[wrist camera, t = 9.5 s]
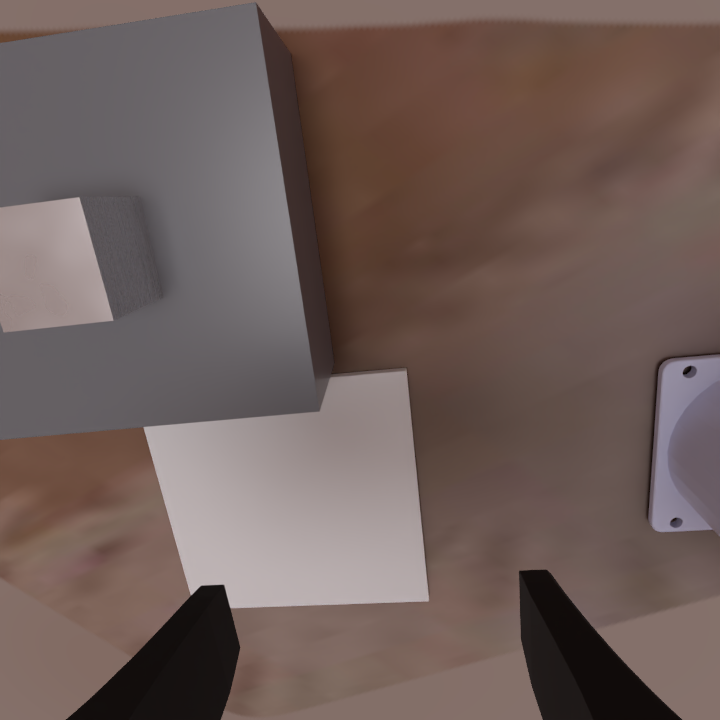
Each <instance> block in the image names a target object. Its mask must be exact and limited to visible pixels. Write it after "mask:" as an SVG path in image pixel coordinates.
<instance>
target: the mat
mask: <svg viewBox="0 0 720 720" xmlns="http://www.w3.org/2000/svg"><path fill="white" fill-rule="evenodd" d="M144 431H145V434H146V438H147V441H148V445H149V448H150V452H151V455H152V459H153V463H154V466H155V470H156V473H157V477H158V480H159V484H160V487H161V491H162V495H163V498H164V502H165V505H166V509H167V512H168V516H169V519H170V523H171V526H172V530H173V534H174V537H175V541H176V544H177V548H178V551H179V555H180V558H181V562H182V566H183V569H184V573H185V576H186V580H187V583H188V587H189V590H190V594H191V595H192V594H193V593H194V592H195V591H196V590H197V589H198V588H199V587H200V586H202V585H224V586H225V590H226V594H227V598H228V602H229V605H230V608H249V607H278V606H306V605H335V604H363V603H391V602H420V601H429V594H428V584H427V574H426V564H425V553H424V543H423V533H422V522H421V512H420V502H419V492H418V481H417V471H416V461H415V451H414V440H413V430H412V420H411V410H410V399H409V389H408V379H407V369H406V368H396V369H385V370H374V371H362V372H351V373H339V374H331V376H330V379H329V382H328V386H327V389H326V392H325V396H324V399H323V402H322V405H321V409H320V412H308V413H297V414H286V415H275V416H263V417H252V418H241V419H229V420H218V421H207V422H195V423H184V424H173V425H161V426H150V427H144Z"/></svg>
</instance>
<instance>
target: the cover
mask: <svg viewBox="0 0 720 720" xmlns="http://www.w3.org/2000/svg"><path fill="white" fill-rule="evenodd" d="M333 366H334V356H333V349H332V342H331V335H330V328H329V321H328V313H327V306H326V299H325V292H324V285H323V278H322V271H321V264H320V257H319V250H318V243H317V235H316V228H315V221H314V214H313V207H312V200H311V193H310V186H309V179H308V172H307V165H306V157H305V150H304V143H303V136H302V129H301V122H300V115H299V108H298V101H297V94H296V87H295V80H294V72H293V65H292V58H291V53H290V52H289V50H288V49H287V48H286V46H285V45H284V43H283V42H282V40H281V39H280V37H279V36H278V34H277V33H276V31H275V30H274V28H273V27H272V25H271V24H270V22H269V21H268V20H267V18H266V17H265V15H264V14H263V12H262V11H261V9H260V8H259V6H258V5H257V3H249V4H243V5H236V6H230V7H224V8H218V9H211V10H205V11H199V12H192V13H186V14H180V15H174V16H168V17H161V18H155V19H149V20H143V21H136V22H130V23H124V24H117V25H111V26H105V27H99V28H92V29H86V30H80V31H74V32H67V33H61V34H55V35H49V36H42V37H36V38H30V39H24V40H18V41H11V42H5V43H0V440H3V439H14V438H26V437H37V436H48V435H59V434H71V433H82V432H93V431H105V430H116V429H127V428H139V427H150V426H161V425H173V424H184V423H195V422H207V421H218V420H229V419H241V418H252V417H263V416H275V415H286V414H297V413H308V412H320V409H321V405H322V402H323V399H324V396H325V392H326V389H327V386H328V382H329V379H330V376H331V373H332V369H333Z"/></svg>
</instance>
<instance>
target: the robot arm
mask: <svg viewBox="0 0 720 720" xmlns="http://www.w3.org/2000/svg"><path fill="white" fill-rule="evenodd" d="M687 366H691V371H690V372H689V373H688V374H685V375H683V370H684V369H685V368H686V367H687ZM673 518H677V520H676V521H674V522H670V521H671V520H672V519H673ZM648 520H649V523H650V525H651V526H652V527H653V528H654V530H656V531H658V532H677V531H698V530H714V531H715V532H716V533H717V534H718V535H719V537H720V354H717V355H705V356H694V357H682V358H672V359H668V360H666V361H665V362H663V363H662V364H661V366H660V368H659V371H658V385H657V400H656V414H655V429H654V443H653V458H652V473H651V487H650V502H649V516H648ZM519 581H520V619H521V641H522V645H523V650H524V654H525V658H526V663H527V667H528V672H529V676H530V680H531V684H532V688H533V691H534V694H535V697H536V700H537V703H538V706H539V709H540V712H541V715H542V718H543V720H682V719H681V718H680V717H679V716H678V715H676V714H675V713H674V712H673V711H672V710H671V709H670V708H669V707H668V706H667V705H666V704H665V703H664V702H663V701H662V700H661V699H660V698H659V697H657V695H655V694H654V692H652V691H651V690H650V689H649V688H648V687H647V686H646V685H645V684H644V683H643V682H642V681H641V679H640V678H639V677H638V676H637V675H636V674H635V673H634V672H633V671H632V670H631V669H630V668H629V667H628V666H627V665H626V664H625V663H624V662H623V661H622V660H621V658H620V657H619V656H618V655H617V654H616V653H615V652H614V651H613V650H612V649H611V647H610V646H609V645H608V644H607V643H606V642H605V641H604V639H603V638H602V637H601V636H600V635H599V634H598V633H597V631H596V630H595V629H594V628H593V627H592V626H591V625H590V623H589V622H588V621H587V620H586V619H585V617H584V616H583V615H582V614H581V612H580V611H579V610H578V609H577V607H576V606H575V605H574V604H573V603H572V601H571V600H570V599H569V597H568V596H567V595H566V594H565V592H564V591H563V590H562V588H561V587H560V586H559V584H558V583H557V582H556V580H555V579H554V577H553V576H552V575H551V573H549V572H548V571H547V570H527V571H519ZM239 651H240V645H239V641H238V637H237V633H236V629H235V625H234V621H233V617H232V613H231V609H230V605H229V602H228V598H227V594H226V590H225V586H224V585H202V586H200V587H199V588H198V589H197V590H196V591H195V592H194V593H193V594H192V595H191V596H190V597H189V599H188V600H187V601H186V602H185V603H184V604H183V605H182V606H181V607H180V608H179V609H178V610H177V611H176V613H175V614H174V615H173V616H172V617H171V618H170V619H169V620H168V621H167V622H166V623H165V624H164V625H163V626H162V628H161V629H160V630H159V631H158V632H157V633H156V634H155V635H154V636H153V637H152V638H151V639H150V640H149V641H148V642H147V643H146V644H145V645H144V646H143V647H142V649H141V650H140V651H139V652H138V653H137V654H136V655H135V656H134V657H133V658H132V659H131V660H130V661H129V662H128V663H127V664H126V665H125V666H123V667H122V669H120V670H119V671H118V672H117V673H116V674H115V675H114V676H113V677H112V678H111V679H110V680H109V681H108V682H107V683H106V684H105V685H104V686H103V687H102V688H101V689H100V690H99V691H98V692H97V693H96V694H95V695H93V696H92V698H90V699H89V700H88V701H87V702H86V703H85V704H84V705H82V706H81V707H80V708H79V709H78V710H77V711H76V712H74V713H73V714H72V715H71V716H70V717H69V718H68V719H66V720H221V717H222V714H223V711H224V708H225V706H226V703H227V700H228V697H229V694H230V690H231V686H232V682H233V678H234V674H235V669H236V664H237V660H238V655H239Z"/></svg>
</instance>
